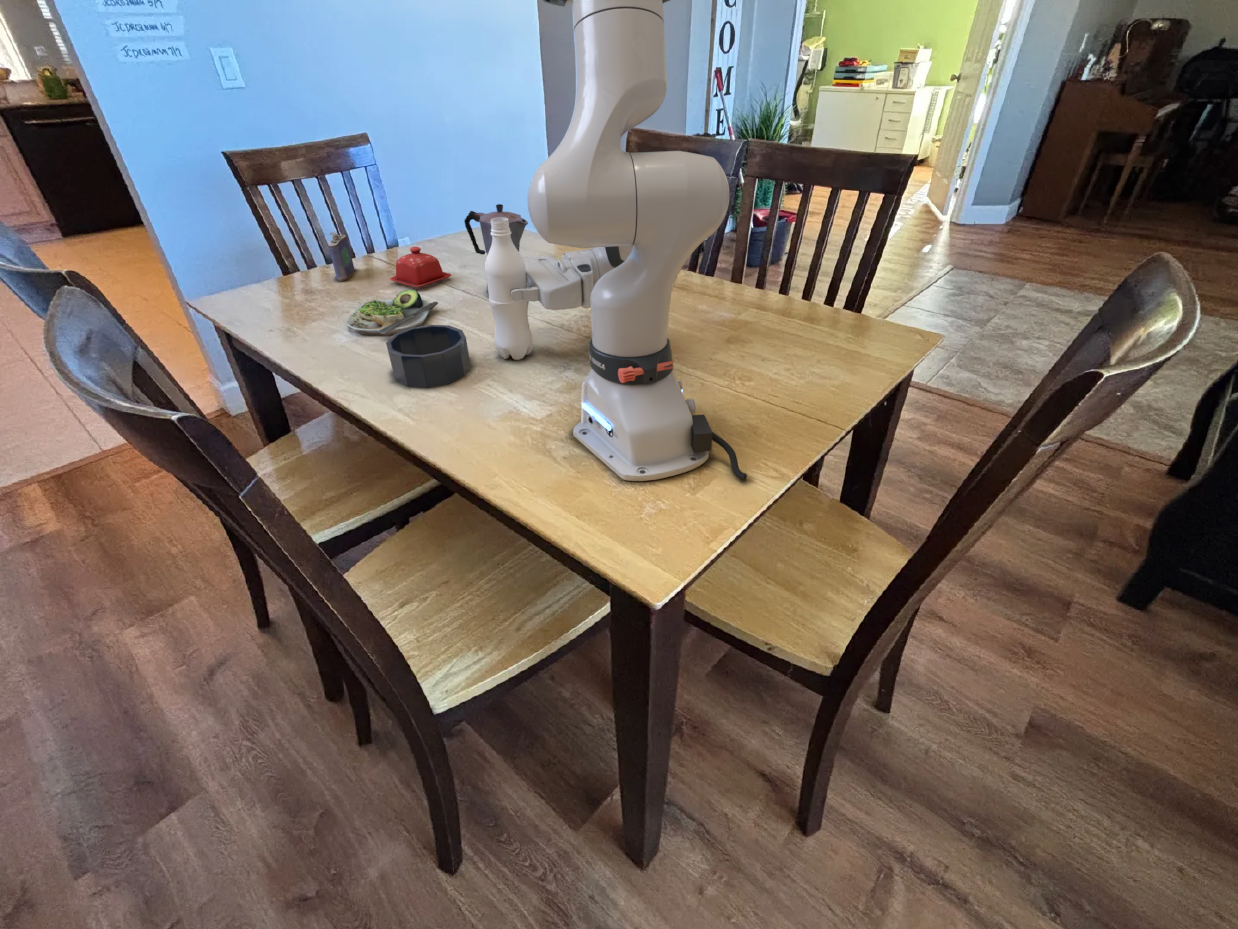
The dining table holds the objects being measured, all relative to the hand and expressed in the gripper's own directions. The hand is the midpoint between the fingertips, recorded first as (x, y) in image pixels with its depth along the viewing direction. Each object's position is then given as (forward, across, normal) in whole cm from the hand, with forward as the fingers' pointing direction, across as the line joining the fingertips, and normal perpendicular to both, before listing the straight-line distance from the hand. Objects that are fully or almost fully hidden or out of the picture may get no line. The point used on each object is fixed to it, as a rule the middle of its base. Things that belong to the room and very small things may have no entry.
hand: (504, 286), depth 112 cm
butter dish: (+10, -50, +14) cm, 53 cm away
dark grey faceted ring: (+15, 0, +14) cm, 20 cm away
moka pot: (-7, -34, +14) cm, 37 cm away
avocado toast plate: (+19, -28, +14) cm, 37 cm away
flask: (+27, -63, +14) cm, 70 cm away
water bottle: (-1, 0, +14) cm, 14 cm away
